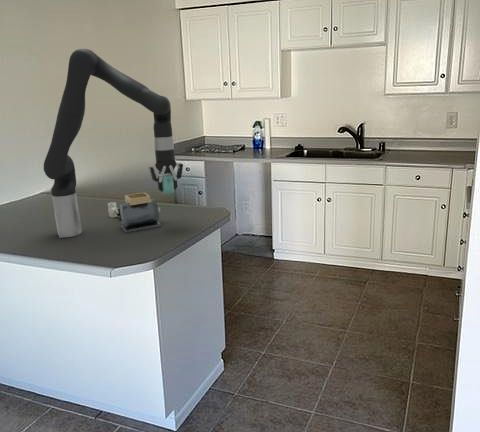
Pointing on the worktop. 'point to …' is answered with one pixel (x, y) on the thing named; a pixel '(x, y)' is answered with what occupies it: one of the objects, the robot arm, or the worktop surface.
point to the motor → (139, 212)
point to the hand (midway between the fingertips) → (168, 190)
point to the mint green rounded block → (168, 184)
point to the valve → (113, 210)
